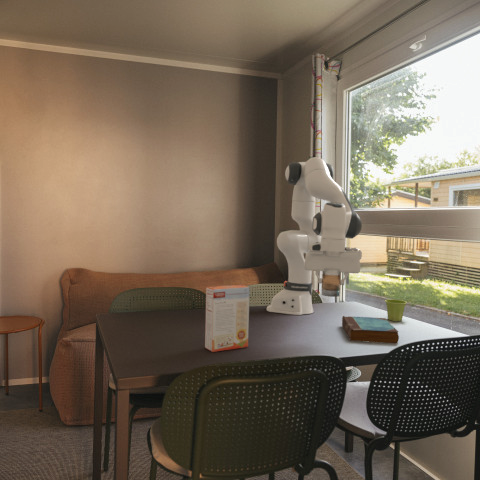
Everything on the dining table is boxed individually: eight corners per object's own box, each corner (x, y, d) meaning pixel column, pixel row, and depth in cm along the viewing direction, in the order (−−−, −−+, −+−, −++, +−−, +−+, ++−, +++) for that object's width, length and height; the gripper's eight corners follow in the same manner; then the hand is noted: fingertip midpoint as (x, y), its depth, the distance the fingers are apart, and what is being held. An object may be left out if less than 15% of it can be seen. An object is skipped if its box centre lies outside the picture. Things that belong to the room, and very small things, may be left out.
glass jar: (321, 296, 164) (322, 268, 163) (321, 293, 170) (322, 266, 170) (340, 297, 163) (341, 269, 162) (339, 294, 169) (340, 267, 169)
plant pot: (407, 323, 200) (408, 303, 200) (385, 321, 202) (386, 302, 202) (404, 318, 209) (405, 300, 209) (382, 317, 211) (383, 298, 211)
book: (341, 327, 189) (342, 315, 189) (384, 330, 188) (385, 318, 188) (349, 342, 167) (350, 328, 166) (398, 345, 165) (399, 331, 165)
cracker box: (239, 343, 158) (241, 284, 157) (248, 347, 153) (250, 286, 152) (203, 347, 151) (205, 285, 150) (211, 352, 146) (214, 288, 145)
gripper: (361, 247, 167) (359, 284, 167) (305, 244, 171) (304, 281, 171) (362, 248, 161) (360, 287, 161) (304, 245, 164) (303, 283, 165)
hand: (331, 283), depth 166 cm, fingers closed on glass jar, 7 cm apart
